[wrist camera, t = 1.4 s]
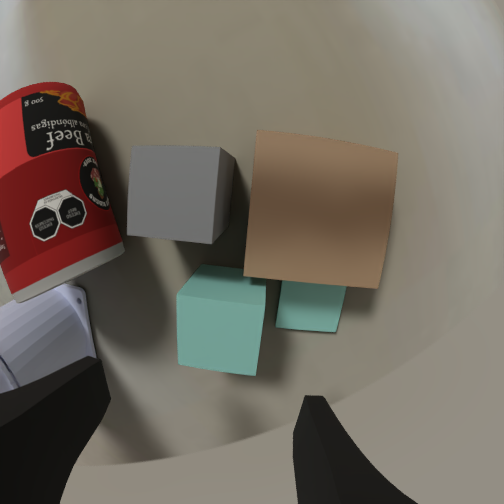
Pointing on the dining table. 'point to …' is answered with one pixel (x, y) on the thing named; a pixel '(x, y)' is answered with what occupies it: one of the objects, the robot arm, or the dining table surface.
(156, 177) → the grey block
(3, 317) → the robot arm
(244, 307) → the teal block
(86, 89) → the dining table surface
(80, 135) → the canned food
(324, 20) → the dining table surface
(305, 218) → the walnut base
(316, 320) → the swatch
